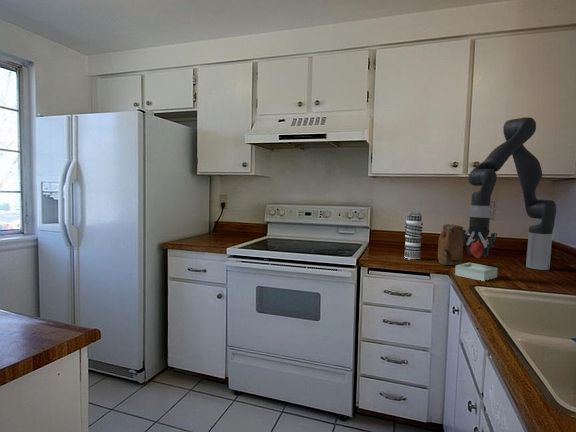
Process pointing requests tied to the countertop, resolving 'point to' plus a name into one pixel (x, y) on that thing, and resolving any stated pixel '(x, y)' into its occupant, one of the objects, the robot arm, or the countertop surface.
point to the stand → (476, 271)
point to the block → (450, 245)
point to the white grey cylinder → (413, 235)
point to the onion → (477, 249)
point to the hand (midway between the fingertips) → (477, 254)
